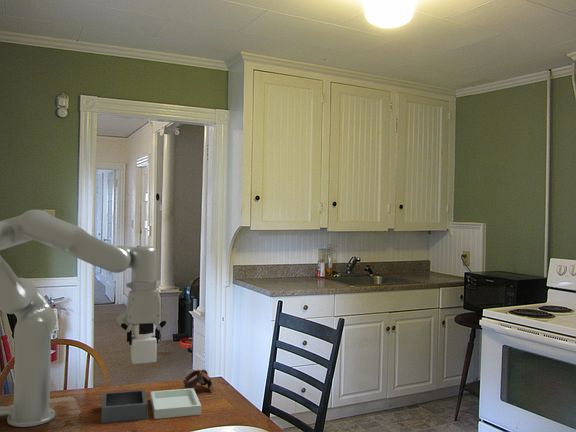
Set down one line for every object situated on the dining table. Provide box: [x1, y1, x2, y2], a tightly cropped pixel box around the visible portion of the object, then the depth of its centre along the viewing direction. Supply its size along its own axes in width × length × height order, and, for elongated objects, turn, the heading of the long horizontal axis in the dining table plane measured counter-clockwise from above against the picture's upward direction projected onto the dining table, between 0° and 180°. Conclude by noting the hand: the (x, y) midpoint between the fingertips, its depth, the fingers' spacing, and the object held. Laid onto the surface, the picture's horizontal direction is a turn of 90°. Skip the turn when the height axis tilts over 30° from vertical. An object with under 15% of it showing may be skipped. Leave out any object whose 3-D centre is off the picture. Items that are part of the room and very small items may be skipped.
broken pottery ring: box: [183, 368, 214, 394], centre depth 180 cm, size 12×10×8 cm
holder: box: [100, 389, 149, 424], centre depth 157 cm, size 13×13×4 cm
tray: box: [150, 388, 202, 420], centre depth 163 cm, size 14×16×3 cm
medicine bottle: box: [130, 323, 157, 365], centre depth 159 cm, size 7×7×12 cm
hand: (143, 342), depth 159 cm, fingers closed on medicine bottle, 7 cm apart
